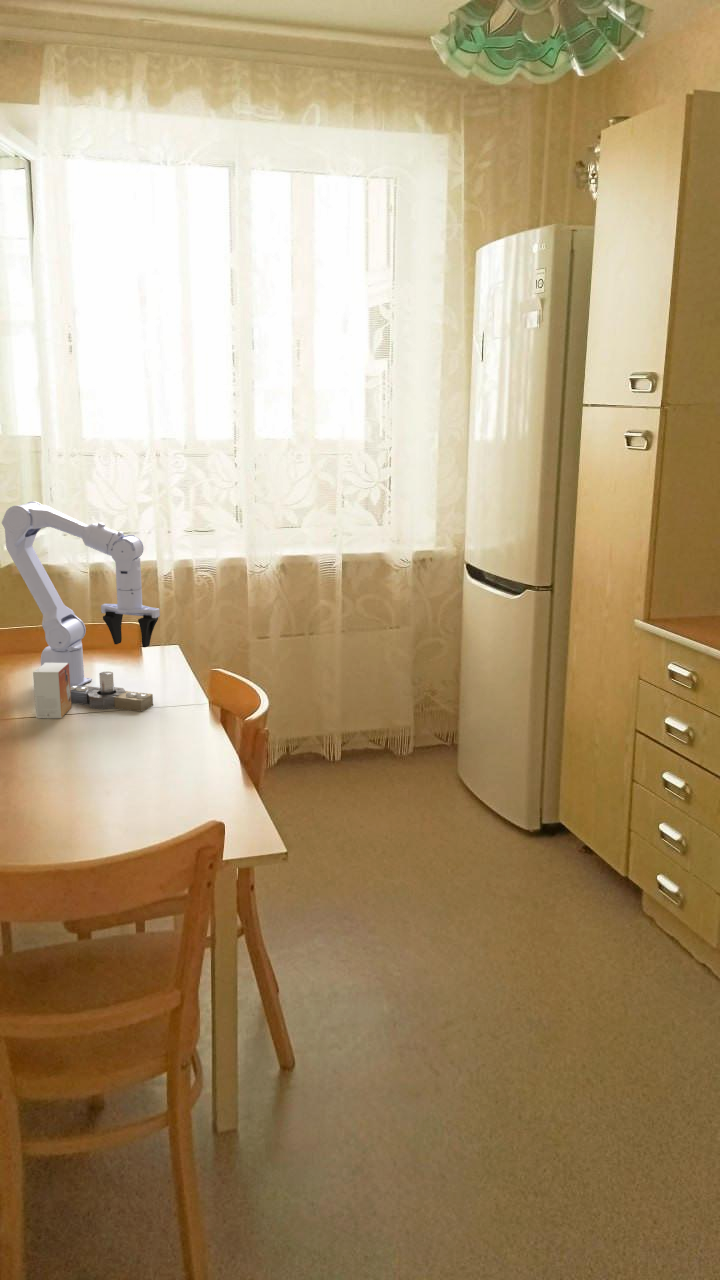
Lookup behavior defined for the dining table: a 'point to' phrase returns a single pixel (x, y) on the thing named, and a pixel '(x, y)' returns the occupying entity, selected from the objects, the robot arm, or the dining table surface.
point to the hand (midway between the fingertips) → (131, 644)
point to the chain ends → (110, 698)
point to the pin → (106, 683)
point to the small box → (52, 690)
